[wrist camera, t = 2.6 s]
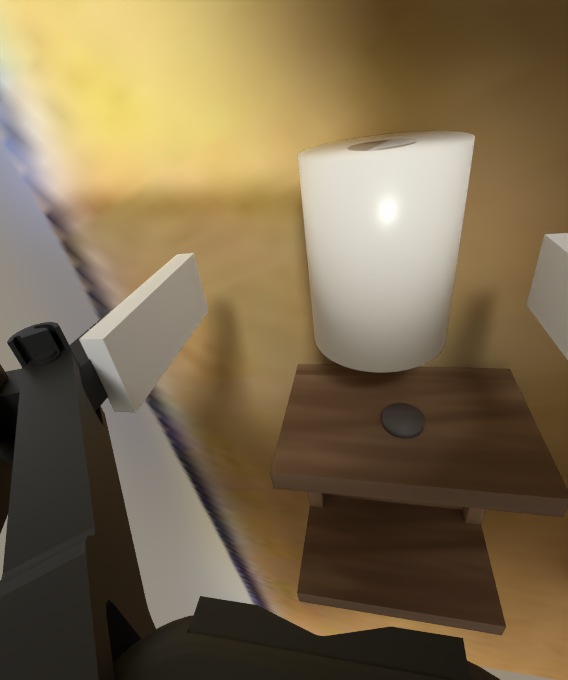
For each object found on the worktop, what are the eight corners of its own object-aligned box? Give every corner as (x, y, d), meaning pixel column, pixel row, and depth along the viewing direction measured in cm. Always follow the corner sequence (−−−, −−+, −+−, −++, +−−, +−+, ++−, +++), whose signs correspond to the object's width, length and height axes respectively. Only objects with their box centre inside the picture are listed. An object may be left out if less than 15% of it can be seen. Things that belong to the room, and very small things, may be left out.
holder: (297, 359, 23) (268, 466, 17) (511, 363, 20) (575, 493, 14) (314, 495, 31) (299, 603, 25) (471, 510, 28) (500, 637, 22)
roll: (291, 147, 16) (307, 170, 11) (432, 127, 16) (514, 141, 11) (307, 310, 20) (324, 381, 15) (417, 295, 20) (471, 361, 15)
